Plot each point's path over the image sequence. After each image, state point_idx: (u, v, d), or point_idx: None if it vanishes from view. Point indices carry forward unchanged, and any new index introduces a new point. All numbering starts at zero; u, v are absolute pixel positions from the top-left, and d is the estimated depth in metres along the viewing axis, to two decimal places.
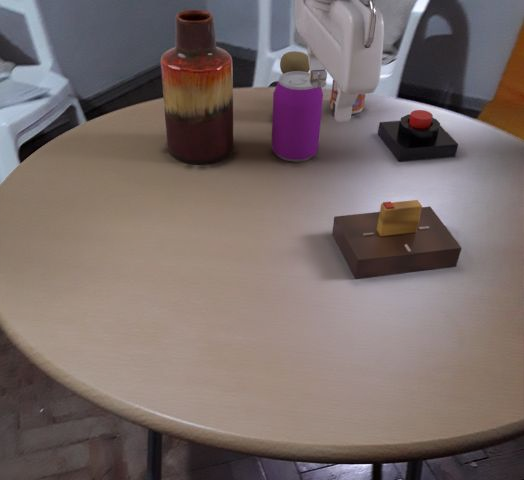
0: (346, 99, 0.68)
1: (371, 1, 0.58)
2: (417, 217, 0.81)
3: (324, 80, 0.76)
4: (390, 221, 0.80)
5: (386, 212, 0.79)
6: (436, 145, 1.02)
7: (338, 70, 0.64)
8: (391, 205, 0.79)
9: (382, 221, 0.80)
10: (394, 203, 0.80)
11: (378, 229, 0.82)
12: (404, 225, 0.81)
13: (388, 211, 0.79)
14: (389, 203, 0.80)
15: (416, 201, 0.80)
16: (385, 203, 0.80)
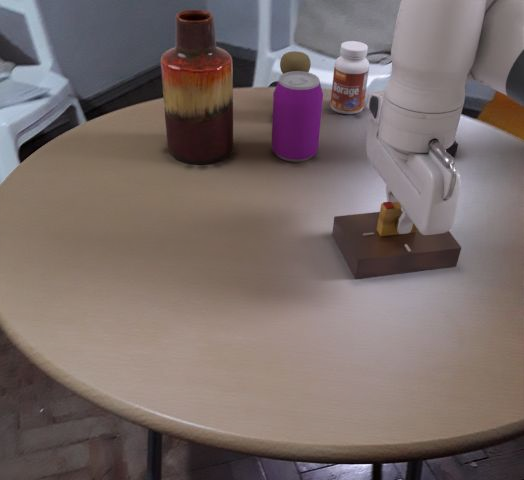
0: (409, 218, 0.78)
1: (452, 165, 0.66)
2: None
3: None
4: (390, 221, 0.80)
5: (386, 212, 0.79)
6: None
7: (416, 213, 0.72)
8: (391, 205, 0.79)
9: (382, 221, 0.80)
10: (394, 203, 0.80)
11: (378, 229, 0.82)
12: None
13: (388, 211, 0.79)
14: (389, 203, 0.80)
15: None
16: (385, 203, 0.80)
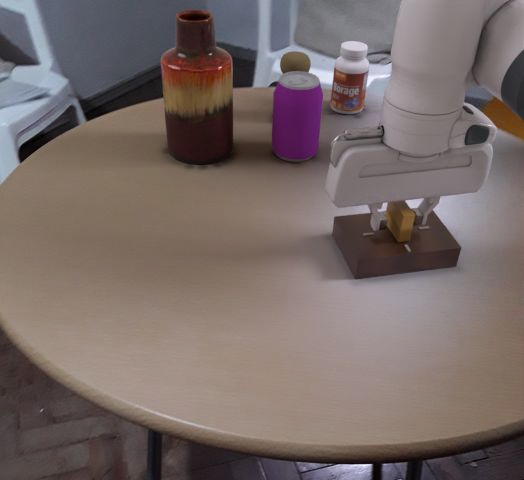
0: (370, 209, 0.79)
1: None
2: (400, 225, 0.79)
3: (416, 221, 0.81)
4: (389, 211, 0.82)
5: None
6: None
7: None
8: None
9: (387, 206, 0.83)
10: (402, 201, 0.80)
11: None
12: (393, 224, 0.81)
13: None
14: None
15: (411, 213, 0.78)
16: None
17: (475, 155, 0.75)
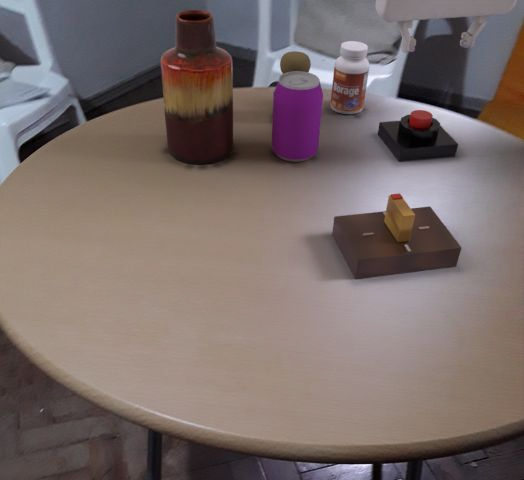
0: (401, 31, 0.90)
1: None
2: (400, 225, 0.79)
3: (465, 42, 0.92)
4: (389, 211, 0.82)
5: (388, 198, 0.82)
6: (436, 145, 1.02)
7: None
8: (395, 196, 0.81)
9: (387, 206, 0.83)
10: (402, 201, 0.80)
11: None
12: (393, 224, 0.81)
13: (389, 199, 0.81)
14: (398, 196, 0.81)
15: (411, 213, 0.78)
16: (398, 194, 0.81)
17: None
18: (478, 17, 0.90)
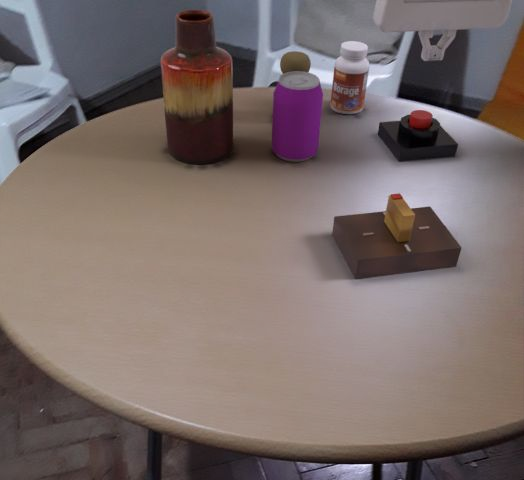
0: (422, 40, 0.95)
1: None
2: (400, 225, 0.79)
3: (435, 55, 0.96)
4: (389, 211, 0.82)
5: (388, 198, 0.82)
6: (436, 145, 1.02)
7: None
8: (395, 196, 0.81)
9: (387, 206, 0.83)
10: (402, 201, 0.80)
11: None
12: (393, 224, 0.81)
13: (389, 199, 0.81)
14: (398, 196, 0.81)
15: (411, 213, 0.78)
16: (398, 194, 0.81)
17: None
18: (446, 31, 0.94)
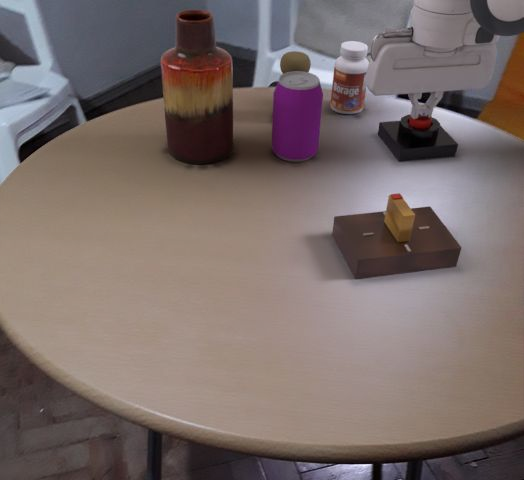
0: (411, 100, 1.01)
1: (379, 33, 0.92)
2: (400, 225, 0.79)
3: (423, 113, 1.02)
4: (389, 211, 0.82)
5: (388, 198, 0.82)
6: (436, 145, 1.02)
7: None
8: (395, 196, 0.81)
9: (387, 206, 0.83)
10: (402, 201, 0.80)
11: None
12: (393, 224, 0.81)
13: (389, 199, 0.81)
14: (398, 196, 0.81)
15: (411, 213, 0.78)
16: (398, 194, 0.81)
17: (483, 54, 0.96)
18: (434, 92, 1.00)
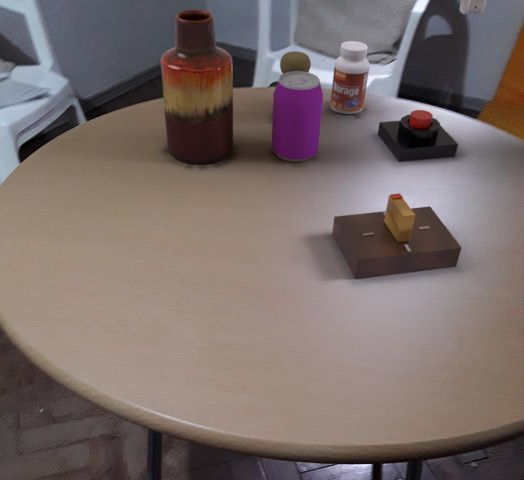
0: None
1: None
2: (400, 225, 0.79)
3: (475, 7, 0.86)
4: (389, 211, 0.82)
5: (388, 198, 0.82)
6: (436, 145, 1.02)
7: None
8: (395, 196, 0.81)
9: (387, 206, 0.83)
10: (402, 201, 0.80)
11: None
12: (393, 224, 0.81)
13: (389, 199, 0.81)
14: (398, 196, 0.81)
15: (411, 213, 0.78)
16: (398, 194, 0.81)
17: None
18: None
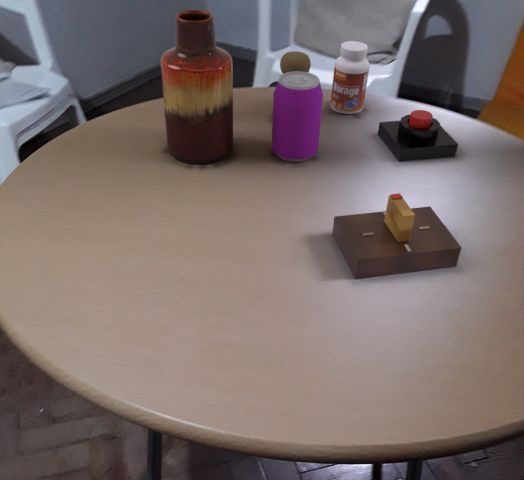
0: None
1: None
2: (400, 225, 0.79)
3: None
4: (389, 211, 0.82)
5: (388, 198, 0.82)
6: (436, 145, 1.02)
7: None
8: (395, 196, 0.81)
9: (387, 206, 0.83)
10: (402, 201, 0.80)
11: None
12: (393, 224, 0.81)
13: (389, 199, 0.81)
14: (398, 196, 0.81)
15: (411, 213, 0.78)
16: (398, 194, 0.81)
17: None
18: None
